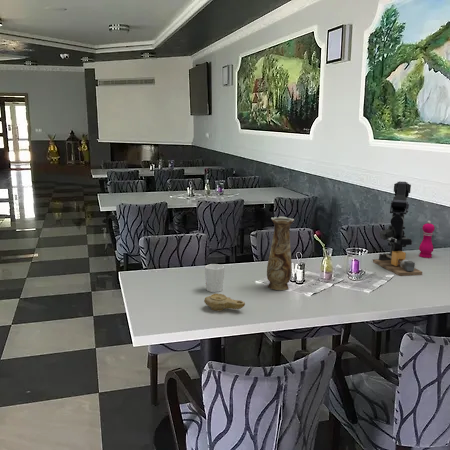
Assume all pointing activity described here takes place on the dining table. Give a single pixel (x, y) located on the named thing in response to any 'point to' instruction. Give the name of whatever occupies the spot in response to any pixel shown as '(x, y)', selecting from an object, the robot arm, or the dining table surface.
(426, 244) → the pepper mill
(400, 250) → the robot arm
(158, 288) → the dining table surface
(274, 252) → the vase
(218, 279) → the white cup
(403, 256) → the sleeve
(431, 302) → the dining table surface
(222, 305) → the oil lamp
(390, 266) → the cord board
